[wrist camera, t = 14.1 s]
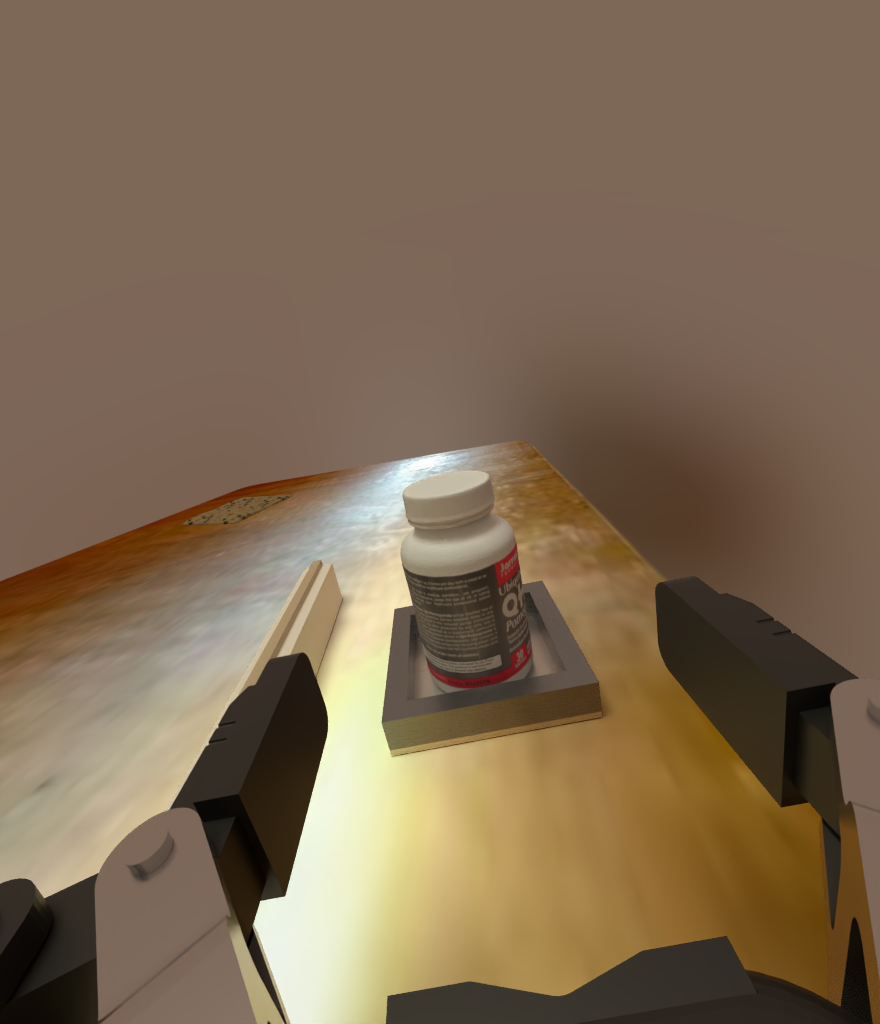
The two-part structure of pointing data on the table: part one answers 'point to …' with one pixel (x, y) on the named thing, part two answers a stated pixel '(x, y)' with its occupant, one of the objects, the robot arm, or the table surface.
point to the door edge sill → (293, 632)
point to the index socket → (487, 687)
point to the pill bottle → (465, 583)
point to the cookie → (236, 510)
